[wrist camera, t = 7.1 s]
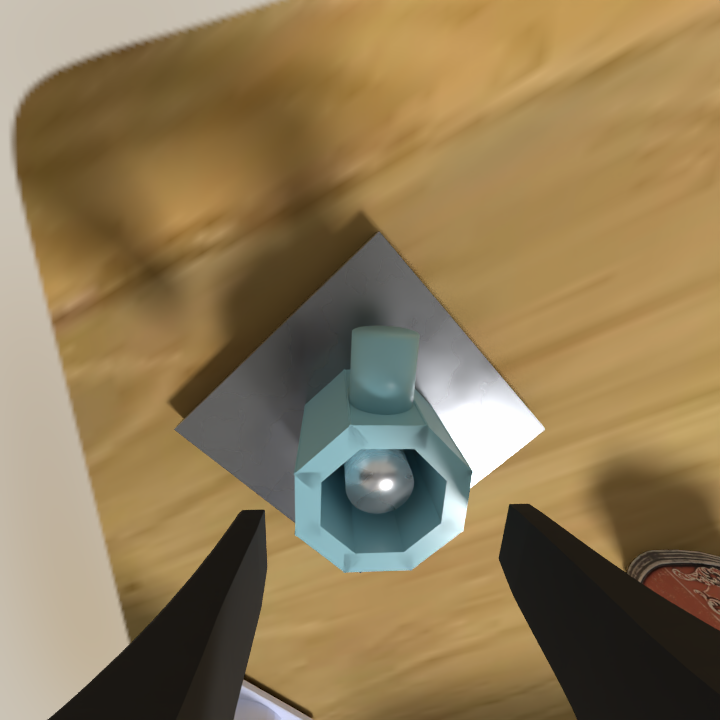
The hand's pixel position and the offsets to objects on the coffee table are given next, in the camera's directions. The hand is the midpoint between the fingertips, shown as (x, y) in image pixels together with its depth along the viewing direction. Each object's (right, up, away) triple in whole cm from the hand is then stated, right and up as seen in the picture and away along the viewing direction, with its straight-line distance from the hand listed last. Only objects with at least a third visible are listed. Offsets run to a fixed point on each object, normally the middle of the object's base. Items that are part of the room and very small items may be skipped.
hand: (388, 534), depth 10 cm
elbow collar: (0, +3, +5) cm, 6 cm away
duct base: (-1, +2, +7) cm, 7 cm away
